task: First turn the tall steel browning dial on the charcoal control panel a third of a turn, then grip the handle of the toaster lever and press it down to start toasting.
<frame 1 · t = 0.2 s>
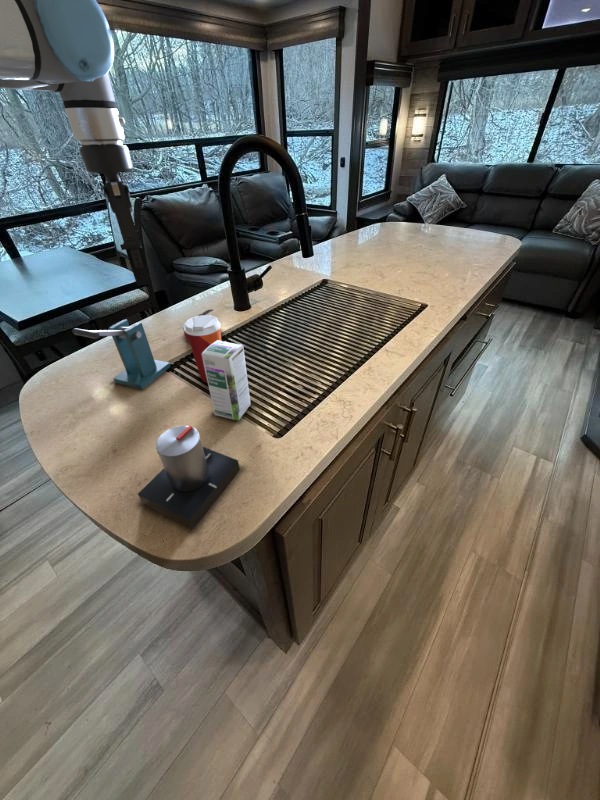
hand: (142, 274, 68), 22 cm above the worktop, tool pointing down, fingers open, 13 cm apart
dial: (183, 458, 49), point 7 cm above the worktop, hinge at 0.0°
toaster lever: (110, 333, 68), point 13 cm above the worktop, hinge at 25.0°
paper cup: (213, 377, 78), on the worktop
control panel: (193, 486, 54), on the worktop
toaster bracket: (143, 374, 79), on the worktop
syrup box: (233, 410, 69), on the worktop
takeaway coffee cup: (203, 335, 95), on the worktop
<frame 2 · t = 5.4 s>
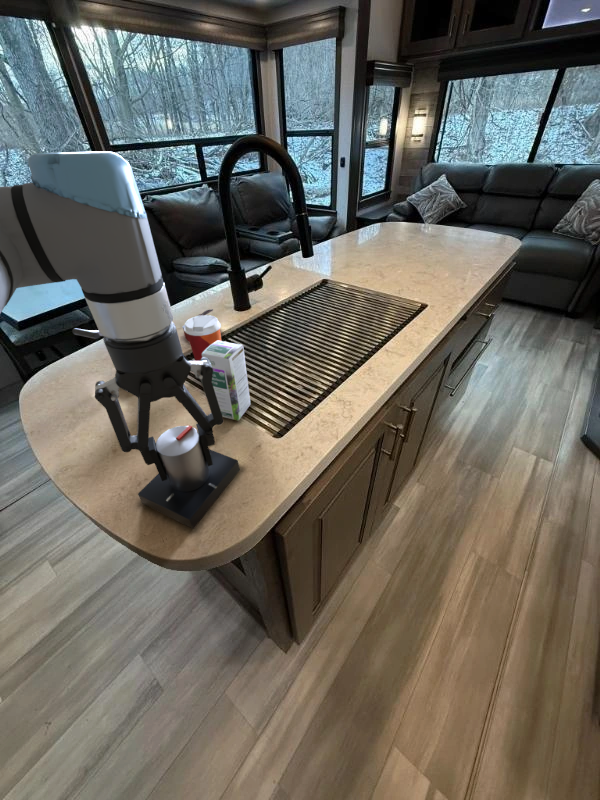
hand: (186, 466, 51), 5 cm above the worktop, tool pointing down, fingers closed on dial, 6 cm apart
dial: (183, 458, 49), point 7 cm above the worktop, hinge at 0.0°, touching gripper
everything else where it was.
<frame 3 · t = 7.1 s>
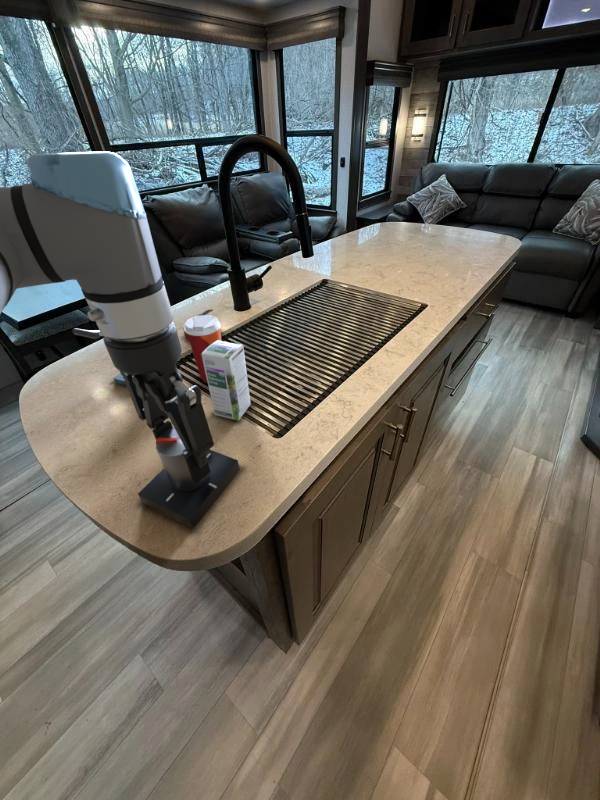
hand: (187, 466, 51), 5 cm above the worktop, tool pointing down, fingers closed on dial, 6 cm apart
dial: (183, 458, 49), point 7 cm above the worktop, hinge at 120.9°, touching gripper
everything else where it was.
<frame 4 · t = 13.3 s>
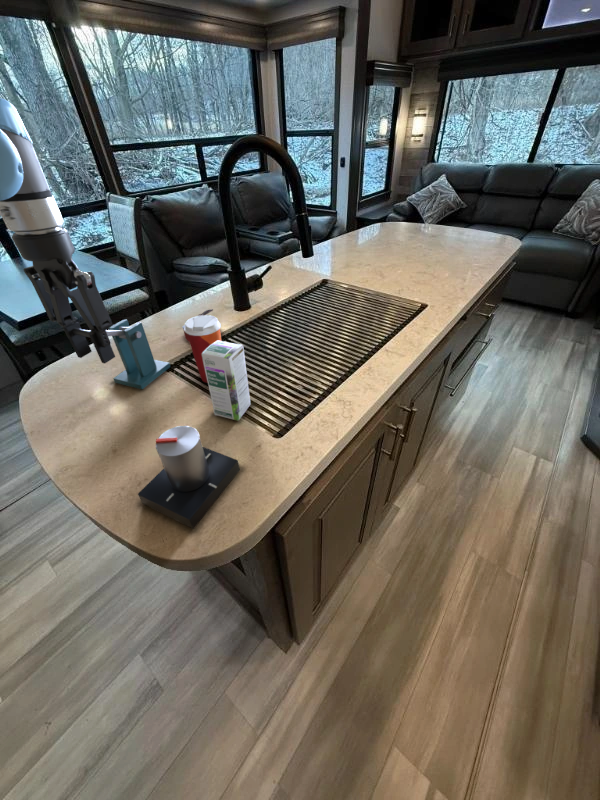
hand: (96, 356, 66), 10 cm above the worktop, tool pointing down, fingers closed on toaster lever, 5 cm apart
dial: (183, 458, 49), point 7 cm above the worktop, hinge at 120.7°
toaster lever: (110, 333, 68), point 13 cm above the worktop, hinge at 25.0°, touching gripper
everything else where it was.
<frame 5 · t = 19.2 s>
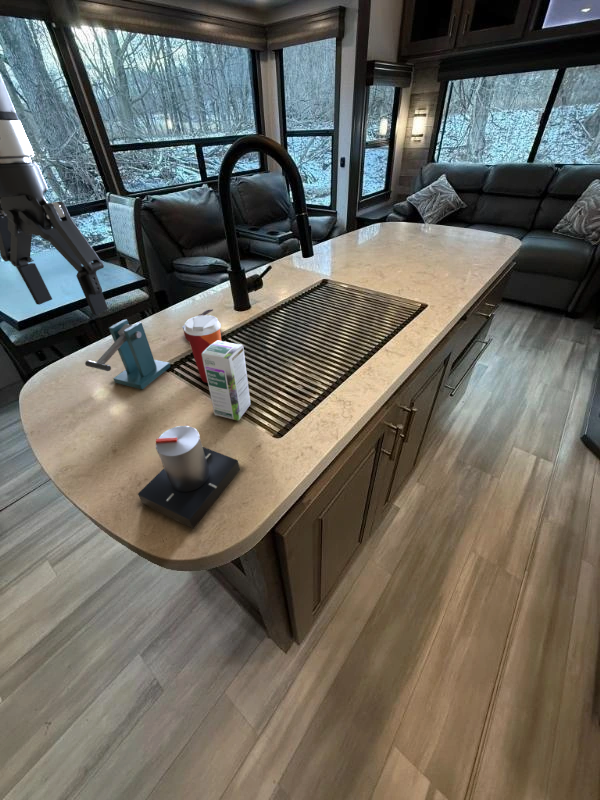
hand: (71, 306, 59), 21 cm above the worktop, tool pointing down, fingers open, 13 cm apart
toaster lever: (114, 347, 70), point 10 cm above the worktop, hinge at -15.8°
everything else where it was.
at the end: dial at +121° (first picture: +0°); toaster lever at -16° (first picture: +25°) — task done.
